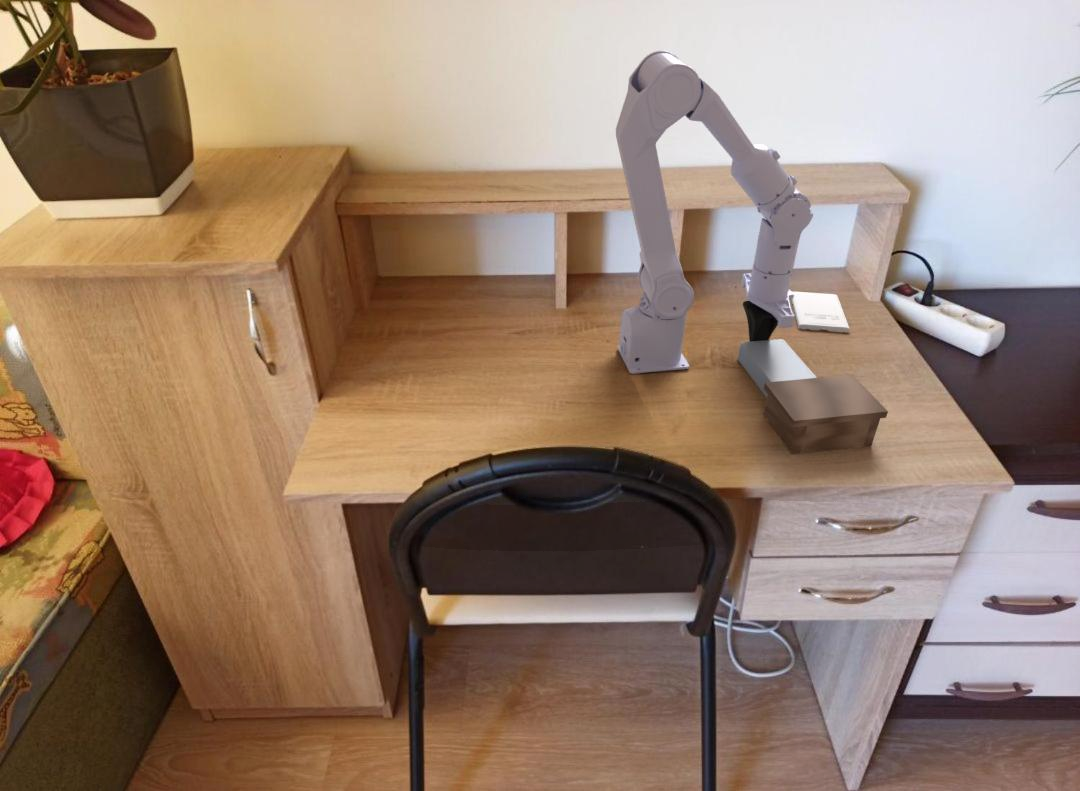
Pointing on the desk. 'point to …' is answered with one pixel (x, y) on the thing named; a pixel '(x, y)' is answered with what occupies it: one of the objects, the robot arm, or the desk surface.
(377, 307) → the desk surface
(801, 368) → the brushed metal plate
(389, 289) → the desk surface
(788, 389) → the brown lidded box
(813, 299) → the external hard drive
